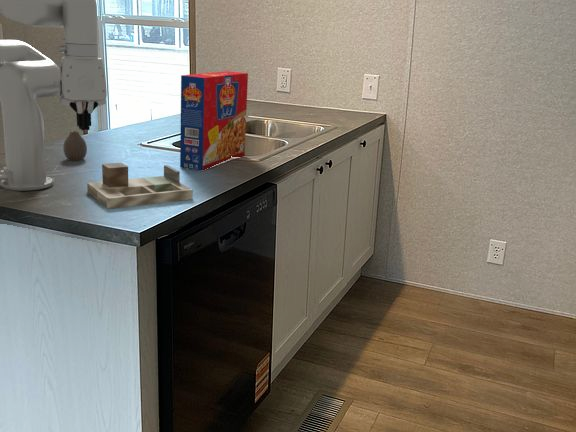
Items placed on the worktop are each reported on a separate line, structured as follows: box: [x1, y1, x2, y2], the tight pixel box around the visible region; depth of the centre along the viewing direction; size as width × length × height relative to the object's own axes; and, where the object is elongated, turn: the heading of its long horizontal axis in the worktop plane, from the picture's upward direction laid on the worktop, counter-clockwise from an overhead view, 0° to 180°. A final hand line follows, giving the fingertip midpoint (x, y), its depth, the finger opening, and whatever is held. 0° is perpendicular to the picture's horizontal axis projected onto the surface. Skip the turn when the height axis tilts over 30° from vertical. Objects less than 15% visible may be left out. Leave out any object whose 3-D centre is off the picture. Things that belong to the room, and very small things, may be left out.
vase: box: [62, 130, 88, 162], centre depth 196 cm, size 7×7×9 cm
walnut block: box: [101, 162, 129, 188], centre depth 162 cm, size 5×5×5 cm
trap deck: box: [86, 164, 194, 210], centre depth 162 cm, size 22×16×6 cm
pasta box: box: [179, 70, 249, 171], centre depth 202 cm, size 28×8×28 cm, turn 157°
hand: (84, 129), depth 154 cm, fingers closed
